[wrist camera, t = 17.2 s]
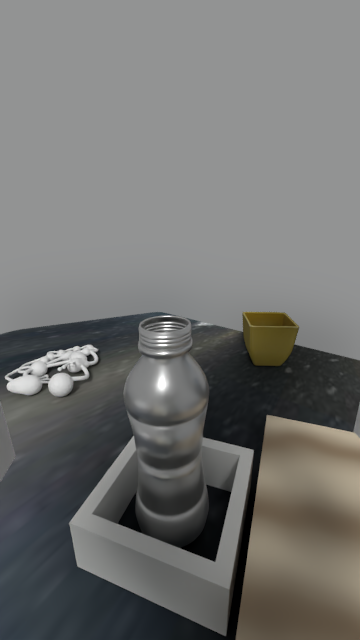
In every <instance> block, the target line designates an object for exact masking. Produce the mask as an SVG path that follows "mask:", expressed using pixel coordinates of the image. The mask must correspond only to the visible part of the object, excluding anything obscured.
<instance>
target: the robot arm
mask: <svg viewBox="0 0 360 640" xmlns="http://www.w3.org/2000/svg"><path fill="white" fill-rule="evenodd" d="M354 432H355V433H356V435H357V436H358V437H359V438H360V404H359V409H358V413H357V418H356V423H355V427H354ZM15 457H16V456H15V452H14V448H13V445H12V441H11V438H10V434H9V431H8V427H7V423H6V420H5V416H4V413H3V409H2V405H1V402H0V482H1V480H2V478H3V477H4V475H5V473H6V472H7V470H8V468H9V467H10V465H11V463H12V462H13V460H14V458H15Z"/></svg>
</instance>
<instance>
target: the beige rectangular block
mask: <svg viewBox="0 0 360 640" xmlns="http://www.w3.org/2000/svg"><path fill="white" fill-rule="evenodd" d="M236 640H360V438H359V437H358V436H357V435H356V433H353V432H348V431H343V430H338V429H334V428H329V427H324V426H319V425H314V424H309V423H304V422H300V421H295V420H290V419H285V418H280V417H275V416H270V415H267V419H266V426H265V433H264V440H263V447H262V454H261V461H260V469H259V476H258V483H257V490H256V497H255V504H254V512H253V519H252V526H251V533H250V540H249V547H248V554H247V562H246V569H245V576H244V583H243V590H242V597H241V604H240V612H239V619H238V626H237V633H236Z"/></svg>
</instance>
